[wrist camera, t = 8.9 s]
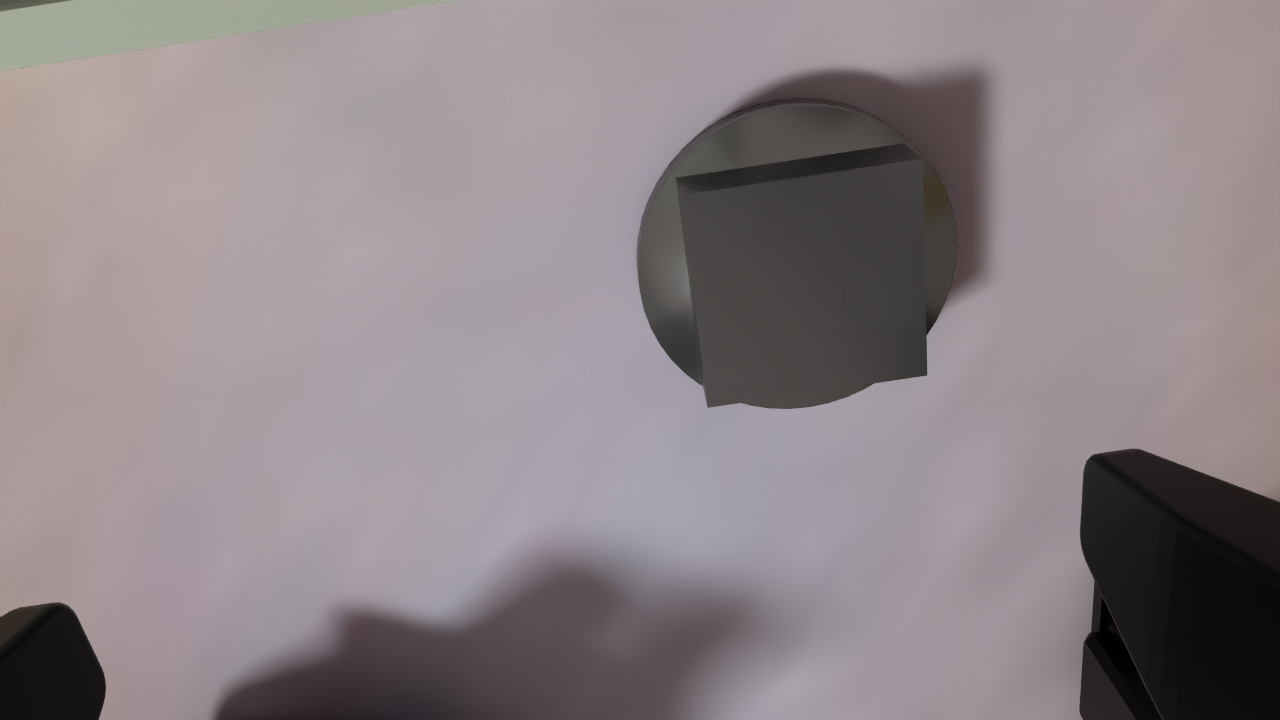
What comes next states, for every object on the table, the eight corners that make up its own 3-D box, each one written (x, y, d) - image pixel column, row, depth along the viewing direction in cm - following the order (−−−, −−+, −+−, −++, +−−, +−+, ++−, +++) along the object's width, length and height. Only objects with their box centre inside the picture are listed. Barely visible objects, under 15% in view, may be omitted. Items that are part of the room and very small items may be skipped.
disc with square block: (941, 74, 19) (977, 94, 18) (945, 369, 22) (976, 411, 20) (615, 124, 20) (617, 149, 18) (658, 411, 22) (664, 457, 21)
